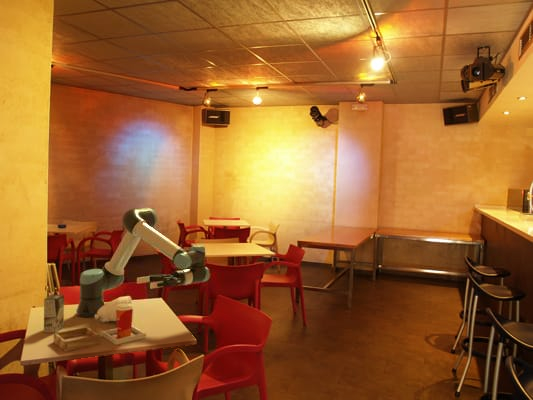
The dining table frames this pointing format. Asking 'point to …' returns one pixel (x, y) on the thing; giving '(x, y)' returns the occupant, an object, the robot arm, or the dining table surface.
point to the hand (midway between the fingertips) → (143, 283)
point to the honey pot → (112, 308)
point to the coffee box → (53, 313)
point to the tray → (126, 339)
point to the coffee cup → (124, 319)
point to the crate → (76, 338)
